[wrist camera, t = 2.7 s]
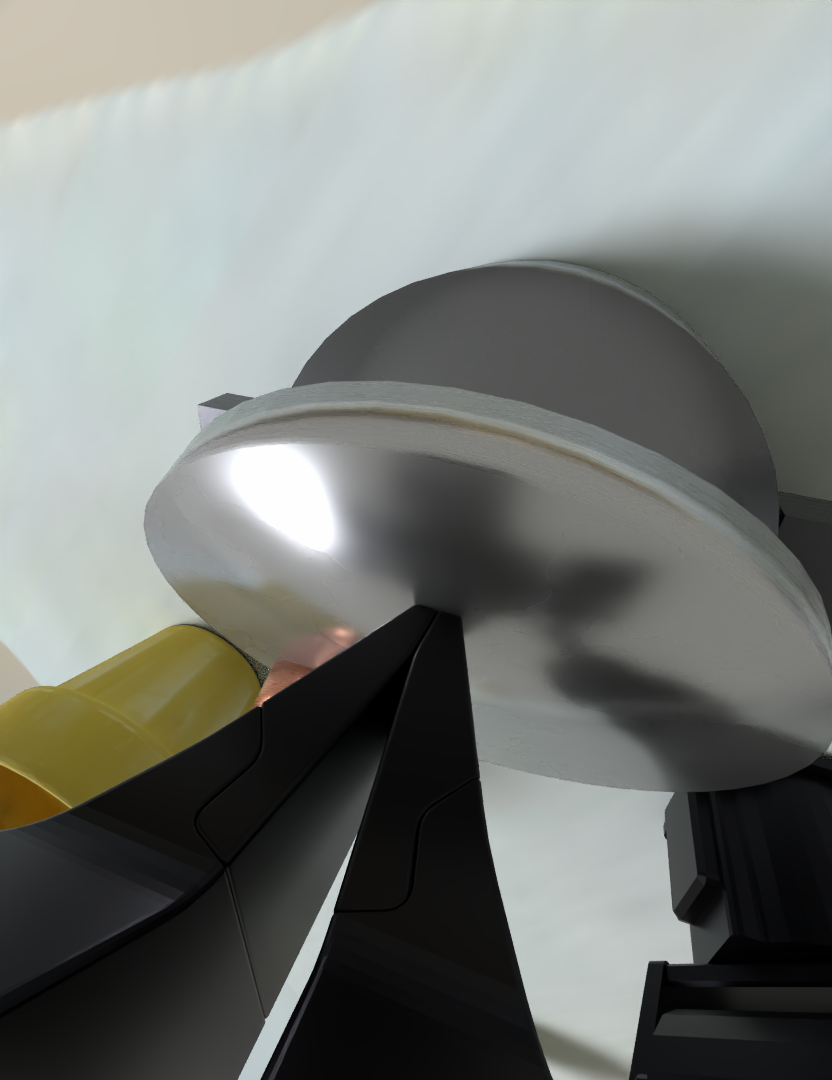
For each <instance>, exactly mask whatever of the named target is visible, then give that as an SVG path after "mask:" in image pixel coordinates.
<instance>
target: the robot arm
mask: <svg viewBox="0 0 832 1080" xmlns="http://www.w3.org/2000/svg"><path fill="white" fill-rule="evenodd" d="M479 779H480V773H479V764H478V755H477V747H476V738H475V729H474V720H473V711H472V702H471V694H470V685H469V676H468V667H467V658H466V650H465V641H464V632H463V623H462V618H461V617H460V616H458V615H454V614H450V613H447V612H443V611H440V612H438V613H437V611H436V610H434V609H431V608H428V607H424V606H420V605H413V606H411V607H410V608H408V609H407V610H405V611H404V612H402V613H401V614H399V615H398V616H396V617H394V618H393V619H391V620H390V621H388V622H387V623H385V624H384V625H382V626H380V627H379V628H377V629H376V630H374V631H373V632H371V633H370V634H368V635H366V636H365V637H363V638H362V639H360V640H359V641H357V642H356V643H354V644H352V645H351V646H349V647H348V648H346V649H345V650H343V651H342V652H340V653H338V654H337V655H335V656H334V657H332V658H331V659H329V660H328V661H326V662H325V663H323V664H321V665H320V666H318V667H317V668H315V669H314V670H312V671H311V672H309V673H307V674H306V675H304V676H303V677H301V678H300V679H298V680H297V681H295V682H293V683H292V684H290V685H289V686H287V687H286V688H284V689H283V690H281V691H279V692H278V693H276V694H275V695H273V696H272V697H270V698H269V699H267V700H265V701H264V702H263V703H262V705H261V706H259V705H258V706H256V707H254V708H253V709H251V710H250V711H248V712H247V713H245V714H243V715H242V716H240V717H239V718H237V719H235V720H234V721H232V722H231V723H229V724H227V725H226V726H224V727H222V728H221V729H219V730H217V731H216V732H214V733H213V734H211V735H209V736H208V737H206V738H204V739H202V740H200V741H199V742H197V743H195V744H193V745H191V746H189V747H188V748H186V749H184V750H182V751H180V752H179V753H177V754H175V755H173V756H171V757H169V758H167V759H166V760H164V761H162V762H160V763H158V764H156V765H154V766H152V767H150V768H148V769H146V770H144V771H142V772H141V773H139V774H137V775H135V776H133V777H131V778H129V779H127V780H125V781H123V782H121V783H119V784H118V785H116V786H114V787H112V788H110V789H108V790H106V791H104V792H102V793H100V794H98V795H96V796H95V797H93V798H91V799H89V800H87V801H85V802H83V803H81V804H79V805H77V806H75V807H73V808H71V809H69V810H67V811H64V812H62V813H59V814H57V815H54V816H52V817H50V818H47V819H44V820H41V821H38V822H35V823H32V824H28V825H24V826H20V827H17V828H12V829H6V830H0V1080H238V1078H239V1075H240V1074H241V1071H242V1069H243V1067H244V1065H245V1063H246V1061H247V1059H248V1057H249V1055H250V1053H251V1051H252V1049H253V1047H254V1045H255V1043H256V1041H257V1039H258V1037H259V1035H260V1033H261V1030H262V1028H263V1026H264V1024H265V1018H267V1017H268V1016H269V1014H270V1012H271V1009H272V1008H273V1005H274V1003H275V1001H276V999H277V997H278V995H279V993H280V991H281V989H282V987H283V985H284V983H285V981H286V979H287V977H288V975H289V973H290V971H291V969H292V966H293V964H294V962H295V960H296V958H297V956H298V954H299V952H300V950H301V948H302V946H303V944H304V942H305V940H306V938H307V936H308V934H309V932H310V929H311V927H312V925H313V923H314V921H315V919H316V917H317V915H318V913H319V911H320V909H321V907H322V905H323V903H324V901H325V899H326V897H327V895H328V893H329V890H330V888H331V886H332V884H333V882H334V880H335V878H336V876H337V874H338V872H339V870H340V868H341V866H342V864H343V862H344V860H345V858H346V856H347V854H348V851H349V849H350V847H351V845H352V843H353V841H354V839H355V837H356V835H357V837H356V840H355V843H354V847H353V850H352V853H351V856H350V859H349V863H348V866H347V869H346V872H345V875H344V879H343V882H342V885H341V888H340V892H339V895H338V898H337V901H336V904H335V908H334V915H333V916H332V918H331V921H330V924H329V927H328V930H327V933H326V936H325V939H324V942H323V945H322V948H321V950H320V953H319V956H318V958H317V961H316V964H315V966H314V969H313V971H312V973H311V975H310V978H309V980H308V982H307V984H306V986H305V988H304V990H303V992H302V994H301V996H300V998H299V1001H298V1003H297V1005H296V1007H295V1009H294V1011H293V1013H292V1015H291V1017H290V1019H289V1022H288V1023H287V1026H286V1028H285V1030H284V1032H283V1034H282V1036H281V1038H280V1040H279V1042H278V1044H277V1046H276V1048H275V1051H274V1053H273V1055H272V1057H271V1059H270V1061H269V1063H268V1065H267V1067H266V1069H265V1071H264V1073H263V1075H262V1078H261V1080H553V1078H552V1076H551V1073H550V1071H549V1068H548V1065H547V1062H546V1059H545V1057H544V1054H543V1051H542V1048H541V1045H540V1042H539V1039H538V1035H537V1032H536V1029H535V1025H534V1022H533V1019H532V1015H531V1012H530V1008H529V1004H528V1001H527V997H526V993H525V990H524V986H523V982H522V978H521V974H520V970H519V966H518V962H517V958H516V954H515V950H514V946H513V942H512V938H511V934H510V930H509V926H508V922H507V918H506V914H505V910H504V906H503V902H502V898H501V894H500V890H499V886H498V882H497V877H496V872H495V868H494V863H493V858H492V854H491V849H490V844H489V839H488V832H487V826H486V819H485V812H484V806H483V797H482V789H481V782H480V780H479ZM663 827H664V836H665V838H666V839H667V846H668V858H669V870H670V883H671V895H672V908H673V912H674V913H675V915H676V916H677V918H678V920H679V921H682V922H685V923H687V924H690V933H691V943H692V952H693V962H694V964H669V963H668V962H667V961H650V962H649V964H648V969H647V975H646V981H645V987H644V993H643V999H642V1005H641V1011H640V1017H639V1023H638V1029H637V1035H636V1041H635V1047H634V1053H633V1059H632V1065H631V1071H630V1077H629V1080H832V761H829V760H825V759H822V758H817V759H816V760H815V761H814V762H813V763H812V764H811V765H809V766H807V767H805V768H803V769H801V770H799V771H797V772H795V773H793V774H791V775H789V776H787V777H784V778H781V779H777V780H774V781H771V782H768V783H765V784H760V785H755V786H749V787H744V788H738V789H731V790H719V791H708V792H675V793H674V795H673V797H672V798H671V800H670V802H669V804H668V806H667V808H666V810H665V823H664V826H663ZM357 833H358V834H357Z"/></svg>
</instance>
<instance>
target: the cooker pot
mask: <svg viewBox="0 0 832 1080" xmlns="http://www.w3.org/2000/svg"><path fill="white" fill-rule="evenodd" d="M344 381H395V382H405V383H415V384H424V385H434V386H444V387H454V388H459V389H463V390H468V391H473V392H477V393H482V394H487V395H492V396H496V397H501V398H506V399H510V400H515V401H520V402H524V403H527V404H531V405H534V406H537V407H540V408H543V409H546V410H549V411H552V412H555V413H558V414H562V415H565V416H568V417H571V418H574V419H577V420H580V421H583V422H586V423H590V424H593V425H595V426H598V427H600V428H602V429H604V430H607V431H609V432H611V433H613V434H616V435H618V436H620V437H622V438H625V439H627V440H629V441H632V442H634V443H636V444H638V445H641V446H643V447H645V448H647V449H650V450H652V451H654V452H656V453H659V454H661V455H663V456H664V457H666V458H668V459H669V460H671V461H673V462H674V463H676V464H678V465H680V466H681V467H683V468H685V469H686V470H688V471H690V472H692V473H693V474H695V475H697V476H698V477H700V478H702V479H704V480H705V481H707V482H709V483H710V484H712V485H714V486H716V487H717V488H719V489H720V490H721V491H723V492H724V493H725V494H727V495H728V496H729V497H730V498H732V499H733V500H734V501H736V502H737V503H738V504H739V505H741V506H742V507H743V508H745V509H746V510H747V511H749V512H750V513H751V514H752V515H754V516H755V517H756V518H758V519H759V520H760V521H761V522H763V523H764V524H765V525H766V526H767V527H768V528H769V529H770V530H771V531H772V532H773V533H774V534H775V535H776V536H777V537H778V539H779V540H780V541H781V542H782V543H783V544H784V545H785V546H786V547H787V548H788V549H789V550H790V551H791V552H792V553H793V555H794V556H795V557H796V558H797V559H798V560H799V561H800V562H801V564H802V566H803V567H804V569H805V571H806V572H807V574H808V575H809V577H810V579H811V580H812V582H813V583H814V585H815V587H816V588H817V590H818V592H819V593H820V595H821V597H822V600H823V604H824V607H825V610H826V614H827V617H828V620H829V624H830V627H831V635H832V501H828V500H822V499H816V498H811V497H805V496H800V495H794V494H789V493H783V492H778V491H777V483H776V474H775V469H774V466H773V462H772V459H771V456H770V452H769V449H768V446H767V443H766V439H765V436H764V433H763V431H762V429H761V427H760V425H759V423H758V421H757V419H756V417H755V415H754V413H753V411H752V409H751V407H750V405H749V403H748V401H747V399H746V398H745V396H744V395H743V394H742V392H741V391H740V389H739V388H738V387H737V385H736V384H735V383H734V381H733V380H732V378H731V377H730V376H729V374H728V373H727V372H726V370H725V369H724V368H723V366H722V365H721V364H720V362H719V361H718V360H717V359H716V357H715V356H714V355H713V354H712V352H711V351H710V350H709V349H708V347H707V346H706V345H705V344H704V342H703V341H702V340H701V339H700V337H699V336H698V335H697V334H696V333H695V332H694V331H693V330H692V329H691V328H690V327H689V326H688V325H687V324H686V323H685V322H684V321H683V320H682V319H681V318H680V317H679V316H678V315H677V314H676V313H675V312H674V311H673V310H672V309H670V308H669V307H667V306H666V305H665V304H663V303H662V302H660V301H659V300H658V299H656V298H655V297H653V296H652V295H651V294H649V293H648V292H647V291H645V290H643V289H641V288H639V287H637V286H635V285H633V284H631V283H629V282H627V281H625V280H623V279H621V278H619V277H617V276H614V275H611V274H608V273H605V272H602V271H599V270H596V269H593V268H589V267H586V266H582V265H576V264H570V263H564V262H558V261H548V260H516V261H508V262H500V263H492V264H486V265H482V266H477V267H472V268H468V269H463V270H459V271H454V272H450V273H446V274H442V275H439V276H435V277H432V278H428V279H425V280H421V281H417V282H414V283H411V284H409V285H407V286H405V287H403V288H400V289H398V290H396V291H394V292H392V293H389V294H387V295H385V296H383V297H380V298H379V299H377V300H376V301H374V302H373V303H371V304H370V305H368V306H366V307H365V308H363V309H362V310H360V311H359V312H357V313H356V314H354V315H353V316H351V317H350V318H349V319H348V320H347V321H345V322H344V323H343V324H342V325H341V326H340V327H339V328H338V329H336V330H335V331H334V332H333V333H332V334H331V335H330V336H329V337H327V338H326V340H325V341H324V342H323V343H322V344H321V346H320V347H319V348H318V349H317V350H316V352H315V353H314V354H313V355H312V356H311V358H310V359H309V360H308V361H307V363H306V364H305V366H304V368H303V369H302V371H301V373H300V374H299V376H298V378H297V379H296V381H295V383H294V384H293V386H292V388H293V387H299V386H306V385H312V384H319V383H325V382H344ZM250 399H253V398H252V397H246V396H240V395H235V394H229V393H226V394H224V395H221V396H219V397H216V398H214V399H211V400H209V401H206V402H204V403H201V404H199V405H197V407H198V413H199V420H200V427H201V431H202V430H203V429H204V428H205V427H206V426H207V425H208V424H209V423H210V422H211V421H212V420H213V419H214V418H216V417H218V416H219V415H221V414H223V413H224V412H226V411H228V410H230V409H231V408H233V407H235V406H237V405H238V404H240V403H242V402H244V401H247V400H250Z"/></svg>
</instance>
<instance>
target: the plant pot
mask: <svg viewBox="0 0 832 1080" xmlns="http://www.w3.org/2000/svg"><path fill="white" fill-rule="evenodd" d="M260 690H261V686H260V683H259V680H258V678H257V676H256V674H255V672H254V670H253V669H252V667H251V666H250V664H249V663H248V662H247V661H246V659H245V658H244V657H243V656H242V655H241V654H240V653H239V652H238V651H237V650H236V649H235V648H234V647H233V646H231V645H230V644H229V643H228V642H226V641H225V640H223V639H222V638H220V637H219V636H217V635H215V634H213V633H211V632H209V631H207V630H204V629H201V628H199V627H195V626H190V625H176V626H171V627H168V628H166V629H164V630H162V631H160V632H158V633H157V634H155V635H153V636H151V637H149V638H147V639H145V640H144V641H142V642H140V643H138V644H136V645H134V646H132V647H131V648H129V649H127V650H125V651H123V652H121V653H119V654H117V655H115V656H113V657H112V658H110V659H108V660H106V661H104V662H102V663H100V664H99V665H97V666H95V667H93V668H91V669H89V670H87V671H85V672H83V673H81V674H79V675H78V676H76V677H74V678H72V679H70V680H68V681H66V682H64V683H62V684H60V685H58V686H57V687H54V686H39V687H33V688H30V689H27V690H24V691H22V692H21V693H19V694H17V695H16V696H14V697H12V698H11V699H9V700H8V701H6V702H5V703H3V704H2V705H0V830H6V829H12V828H17V827H20V826H24V825H28V824H32V823H35V822H38V821H41V820H44V819H47V818H50V817H52V816H54V815H57V814H59V813H62V812H64V811H67V810H69V809H71V808H73V807H75V806H77V805H79V804H81V803H83V802H85V801H87V800H89V799H91V798H93V797H95V796H96V795H98V794H100V793H102V792H104V791H106V790H108V789H110V788H112V787H114V786H116V785H118V784H119V783H121V782H123V781H125V780H127V779H129V778H131V777H133V776H135V775H137V774H139V773H141V772H142V771H144V770H146V769H148V768H150V767H152V766H154V765H156V764H158V763H160V762H162V761H164V760H166V759H167V758H169V757H171V756H173V755H175V754H177V753H179V752H180V751H182V750H184V749H186V748H188V747H189V746H191V745H193V744H195V743H197V742H199V741H200V740H202V739H204V738H206V737H208V736H209V735H211V734H213V733H214V732H216V731H217V730H219V729H221V728H222V727H224V726H226V725H227V724H229V723H231V722H232V721H234V720H235V719H237V718H239V717H240V716H242V715H243V714H245V713H247V712H248V711H250V710H251V708H252V706H253V704H254V702H255V700H256V698H257V696H258V694H259V692H260Z"/></svg>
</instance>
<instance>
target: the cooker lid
mask: <svg viewBox="0 0 832 1080" xmlns="http://www.w3.org/2000/svg"><path fill="white" fill-rule="evenodd" d="M144 529H145V535H146V540H147V545H148V547H149V549H150V552H151V554H152V556H153V559H154V561H155V563H156V565H157V566H158V568H159V569H160V571H161V572H162V574H163V575H164V577H165V579H166V580H167V581H168V583H169V584H170V585H171V586H172V588H173V589H174V590H175V591H176V592H177V594H178V595H179V596H180V597H181V598H182V599H183V600H184V601H185V602H186V603H187V604H188V605H189V606H190V607H191V608H192V609H193V610H194V611H195V612H196V613H197V614H198V615H199V616H200V617H201V618H202V619H203V620H204V621H206V622H207V623H208V624H209V625H210V626H211V627H212V628H214V629H215V630H216V631H217V632H218V633H220V634H221V635H222V636H224V637H225V638H226V639H228V640H229V641H230V642H231V643H233V644H234V645H235V646H237V647H238V648H240V649H241V650H243V651H244V652H245V653H247V654H248V655H250V656H251V657H253V658H254V659H256V660H257V661H259V662H260V663H262V664H263V665H265V666H267V667H268V668H270V669H271V670H270V672H269V674H268V676H267V678H266V680H265V682H264V684H263V686H262V688H261V690H260V692H259V694H258V696H257V698H256V700H255V702H254V704H253V706H252V708H251V709H253V708H254V707H256V706H258V705H259V706H261V705H262V703H263V702H264V701H265V700H267V699H269V698H270V697H272V696H273V695H275V694H276V693H278V692H279V691H281V690H283V689H284V688H286V687H287V686H289V685H290V684H292V683H293V682H295V681H297V680H298V679H300V678H301V677H303V676H304V675H306V674H307V673H309V672H311V671H312V670H314V669H315V668H317V667H318V666H320V665H321V664H323V663H325V662H326V661H328V660H329V659H331V658H332V657H334V656H335V655H337V654H338V653H340V652H342V651H343V650H345V649H346V648H348V647H349V646H351V645H352V644H354V643H356V642H357V641H359V640H360V639H362V638H363V637H365V636H366V635H368V634H370V633H371V632H373V631H374V630H376V629H377V628H379V627H380V626H382V625H384V624H385V623H387V622H388V621H390V620H391V619H393V618H394V617H396V616H398V615H399V614H401V613H402V612H404V611H405V610H407V609H408V608H410V607H411V606H413V605H420V606H424V607H428V608H431V609H434V610H436V611H437V613H438V612H440V611H443V612H447V613H450V614H454V615H458V616H460V617H461V618H462V623H463V632H464V641H465V650H466V658H467V667H468V676H469V685H470V694H471V702H472V711H473V720H474V729H475V738H476V747H477V755H478V759H479V760H483V761H486V762H490V763H493V764H497V765H500V766H504V767H508V768H512V769H516V770H520V771H525V772H529V773H533V774H538V775H542V776H547V777H552V778H557V779H562V780H568V781H573V782H579V783H585V784H591V785H598V786H606V787H613V788H622V789H633V790H643V791H663V792H708V791H719V790H731V789H738V788H744V787H749V786H755V785H760V784H765V783H768V782H771V781H774V780H777V779H781V778H784V777H787V776H789V775H791V774H793V773H795V772H797V771H799V770H801V769H803V768H805V767H807V766H809V765H811V764H812V763H813V762H814V761H815V760H816V759H817V758H818V757H820V756H821V755H822V754H823V753H824V752H825V751H826V750H827V749H828V748H829V746H830V744H831V742H832V635H831V627H830V624H829V620H828V617H827V614H826V610H825V607H824V604H823V600H822V597H821V595H820V593H819V592H818V590H817V588H816V587H815V585H814V583H813V582H812V580H811V579H810V577H809V575H808V574H807V572H806V571H805V569H804V567H803V566H802V564H801V562H800V561H799V560H798V559H797V558H796V557H795V556H794V555H793V553H792V552H791V551H790V550H789V549H788V548H787V547H786V546H785V545H784V544H783V543H782V542H781V541H780V540H779V539H778V537H777V536H776V535H775V534H774V533H773V532H772V531H771V530H770V529H769V528H768V527H767V526H766V525H765V524H764V523H763V522H761V521H760V520H759V519H758V518H756V517H755V516H754V515H752V514H751V513H750V512H749V511H747V510H746V509H745V508H743V507H742V506H741V505H739V504H738V503H737V502H736V501H734V500H733V499H732V498H730V497H729V496H728V495H727V494H725V493H724V492H723V491H721V490H720V489H719V488H717V487H716V486H714V485H712V484H710V483H709V482H707V481H705V480H704V479H702V478H700V477H698V476H697V475H695V474H693V473H692V472H690V471H688V470H686V469H685V468H683V467H681V466H680V465H678V464H676V463H674V462H673V461H671V460H669V459H668V458H666V457H664V456H663V455H661V454H659V453H656V452H654V451H652V450H650V449H647V448H645V447H643V446H641V445H638V444H636V443H634V442H632V441H629V440H627V439H625V438H622V437H620V436H618V435H616V434H613V433H611V432H609V431H607V430H604V429H602V428H600V427H598V426H595V425H593V424H590V423H586V422H583V421H580V420H577V419H574V418H571V417H568V416H565V415H562V414H558V413H555V412H552V411H549V410H546V409H543V408H540V407H537V406H534V405H531V404H527V403H524V402H520V401H515V400H510V399H506V398H501V397H496V396H492V395H487V394H482V393H477V392H473V391H468V390H463V389H459V388H454V387H444V386H434V385H424V384H415V383H405V382H395V381H344V382H325V383H319V384H312V385H306V386H299V387H293V388H286V389H281V390H278V391H275V392H271V393H268V394H265V395H262V396H259V397H256V398H253V399H250V400H247V401H244V402H242V403H240V404H238V405H237V406H235V407H233V408H231V409H230V410H228V411H226V412H224V413H223V414H221V415H219V416H218V417H216V418H214V419H213V420H212V421H211V422H210V423H209V424H208V425H207V426H206V427H205V428H204V429H203V430H202V431H201V432H200V433H199V434H198V435H197V436H196V437H195V438H194V439H193V440H192V442H191V443H190V444H189V446H188V447H187V448H186V449H185V451H184V452H183V453H182V455H181V456H180V457H179V458H178V460H177V461H176V462H175V464H174V465H173V466H172V467H171V469H170V470H169V471H168V473H167V474H166V475H165V476H164V478H163V479H162V480H161V482H160V483H159V484H158V485H157V487H156V488H155V490H154V492H153V494H152V495H151V497H150V499H149V501H148V503H147V505H146V510H145V518H144Z"/></svg>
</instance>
